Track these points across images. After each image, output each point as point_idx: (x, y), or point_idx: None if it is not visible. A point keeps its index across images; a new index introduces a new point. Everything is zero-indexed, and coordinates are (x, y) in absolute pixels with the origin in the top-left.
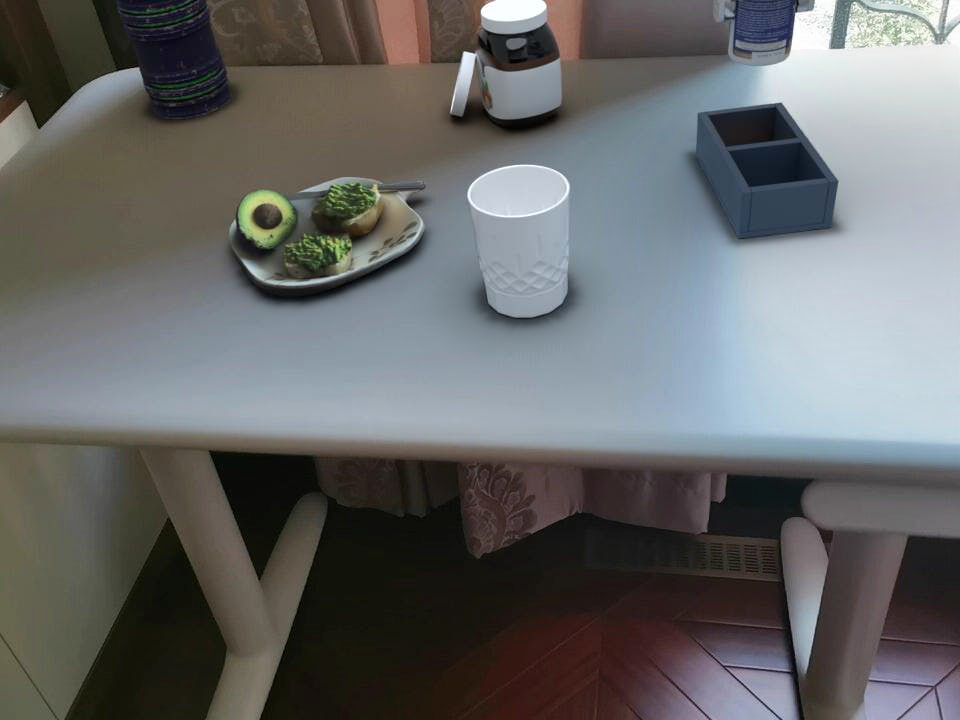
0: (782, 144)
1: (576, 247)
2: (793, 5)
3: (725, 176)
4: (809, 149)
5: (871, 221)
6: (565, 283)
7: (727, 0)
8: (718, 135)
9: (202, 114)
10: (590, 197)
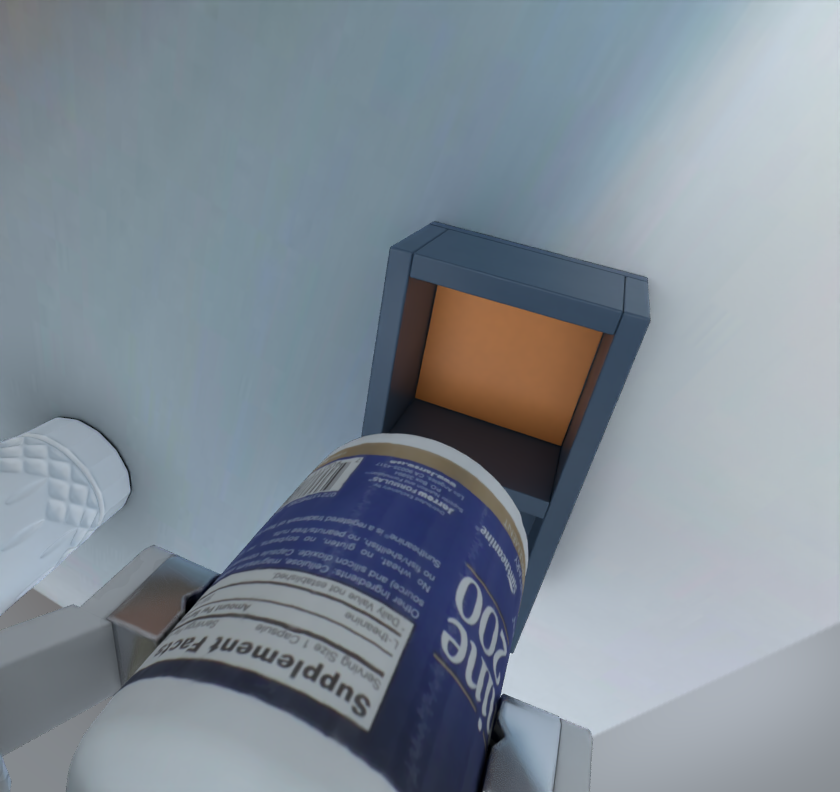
0: None
1: (150, 405)
2: None
3: None
4: (538, 553)
5: (605, 601)
6: (112, 510)
7: (131, 675)
8: (385, 391)
9: None
10: (184, 276)
